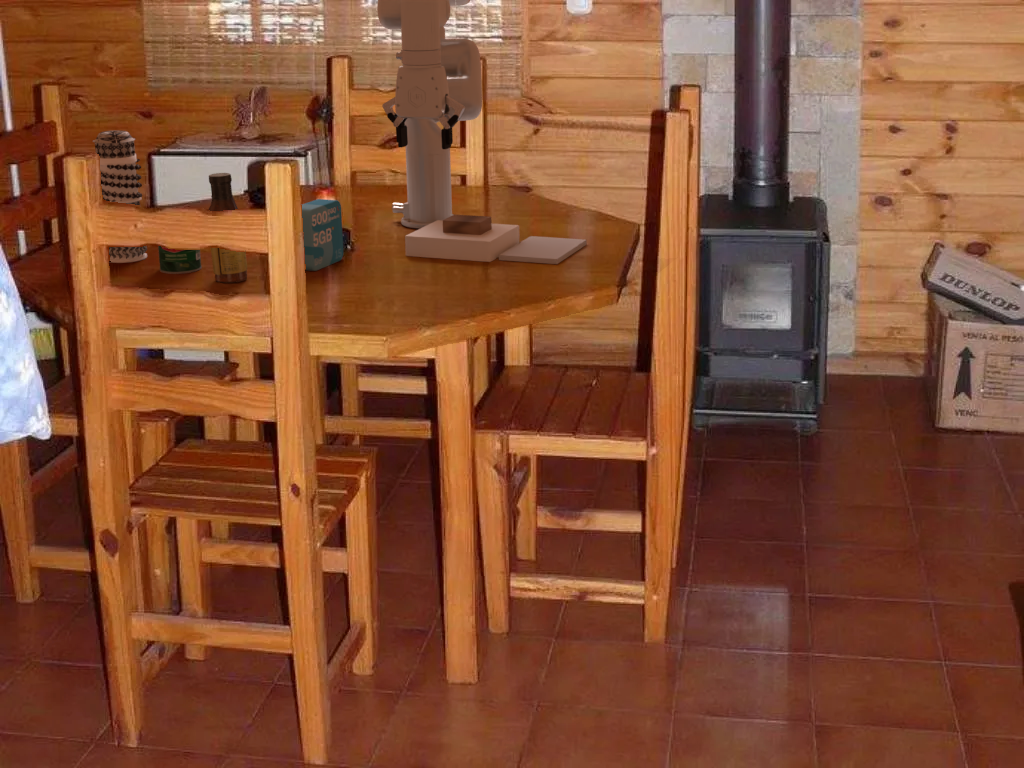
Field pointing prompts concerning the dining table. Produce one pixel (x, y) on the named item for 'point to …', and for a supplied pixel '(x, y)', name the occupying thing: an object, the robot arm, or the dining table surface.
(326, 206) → the data package
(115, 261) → the decorative candle
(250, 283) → the dining table surface
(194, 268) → the canned tomato
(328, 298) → the dining table surface
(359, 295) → the dining table surface
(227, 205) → the sauce bottle
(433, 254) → the deck
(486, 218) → the tile
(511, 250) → the mat
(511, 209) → the dining table surface
